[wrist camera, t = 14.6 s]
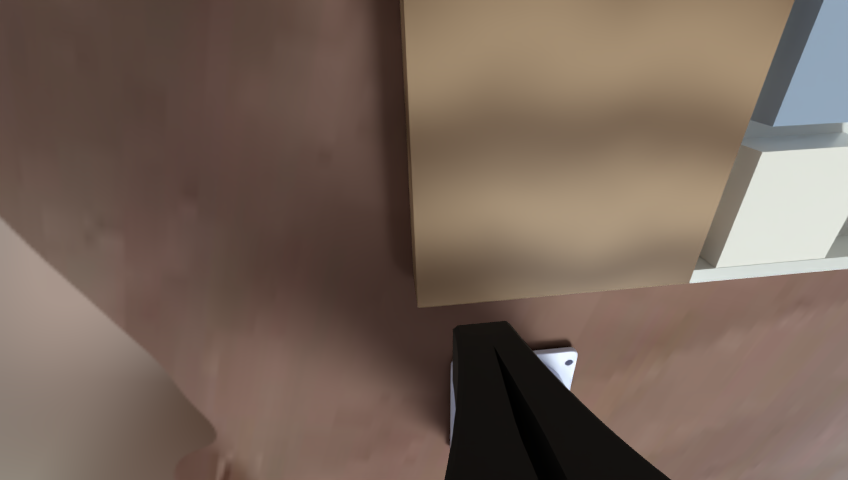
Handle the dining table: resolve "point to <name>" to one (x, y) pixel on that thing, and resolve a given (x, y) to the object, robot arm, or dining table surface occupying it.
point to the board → (573, 138)
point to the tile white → (781, 201)
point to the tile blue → (808, 68)
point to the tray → (840, 256)
